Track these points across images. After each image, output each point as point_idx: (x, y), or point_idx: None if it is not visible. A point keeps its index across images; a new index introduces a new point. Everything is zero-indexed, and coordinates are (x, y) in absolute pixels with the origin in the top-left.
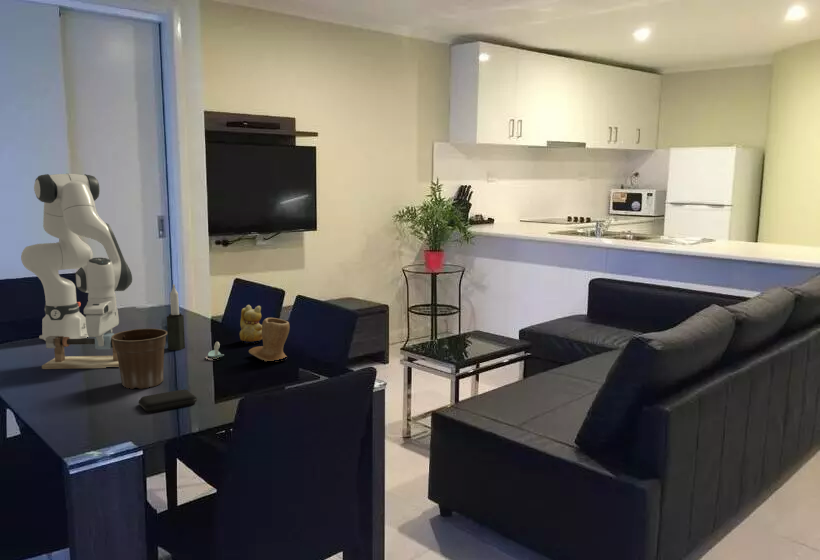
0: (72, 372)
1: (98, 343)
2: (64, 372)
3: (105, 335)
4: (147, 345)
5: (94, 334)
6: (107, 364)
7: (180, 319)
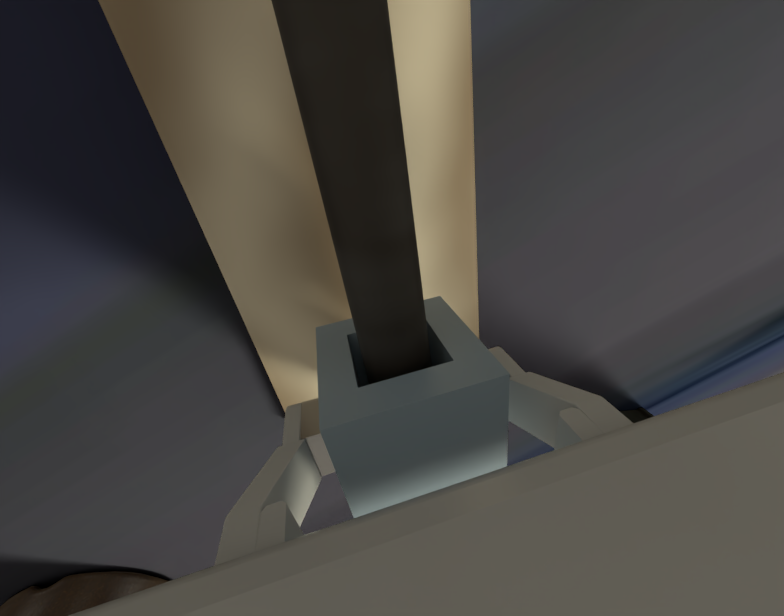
0: (75, 213)
1: (286, 426)
2: (33, 139)
3: (394, 496)
4: None
5: None
6: (274, 381)
7: None
